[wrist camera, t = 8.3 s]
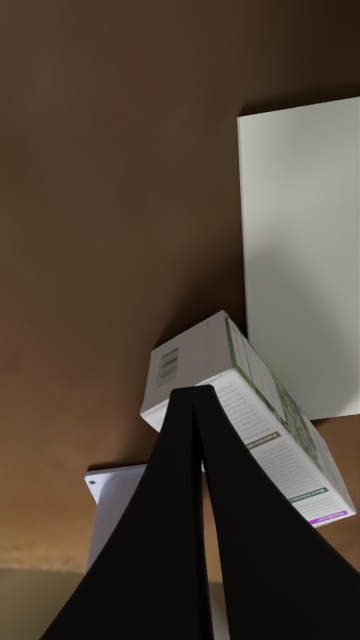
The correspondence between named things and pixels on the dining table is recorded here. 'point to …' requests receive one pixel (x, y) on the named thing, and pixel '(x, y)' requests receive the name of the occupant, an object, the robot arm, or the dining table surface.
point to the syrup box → (251, 413)
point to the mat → (304, 250)
